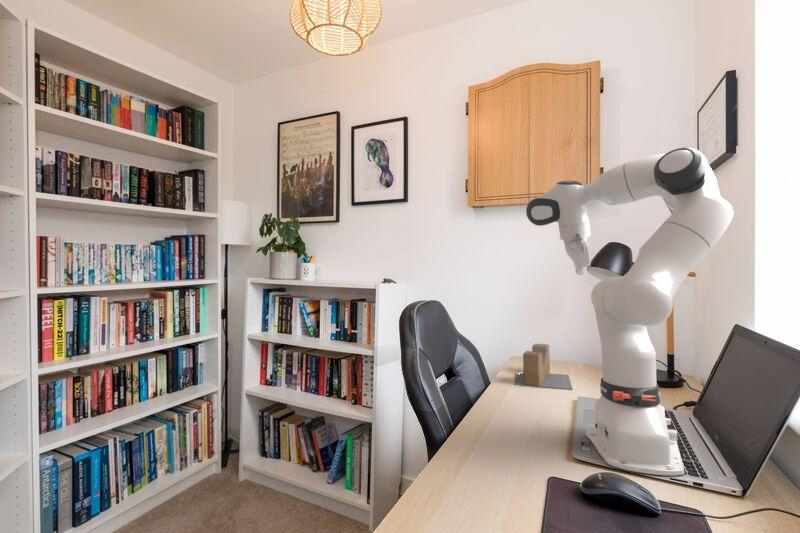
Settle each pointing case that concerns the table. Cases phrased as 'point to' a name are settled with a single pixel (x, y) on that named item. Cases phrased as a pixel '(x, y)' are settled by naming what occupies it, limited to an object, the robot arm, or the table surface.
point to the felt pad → (548, 381)
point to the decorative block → (536, 364)
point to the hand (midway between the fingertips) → (579, 273)
